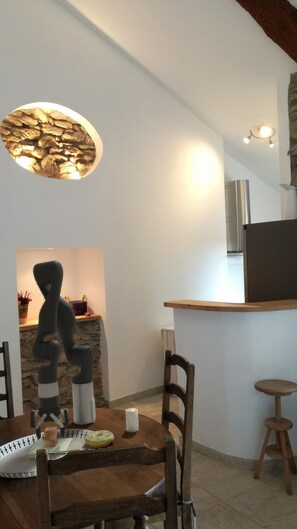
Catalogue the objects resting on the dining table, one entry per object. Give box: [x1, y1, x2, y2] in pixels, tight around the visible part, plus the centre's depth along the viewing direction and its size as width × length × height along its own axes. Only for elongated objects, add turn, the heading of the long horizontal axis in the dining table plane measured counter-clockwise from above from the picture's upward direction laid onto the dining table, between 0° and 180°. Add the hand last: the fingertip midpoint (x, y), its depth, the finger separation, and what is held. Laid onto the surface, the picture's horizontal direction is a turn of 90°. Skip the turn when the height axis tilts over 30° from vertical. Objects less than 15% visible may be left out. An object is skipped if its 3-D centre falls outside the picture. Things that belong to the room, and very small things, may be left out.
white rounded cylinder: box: [125, 407, 140, 433], centre depth 169 cm, size 5×5×8 cm
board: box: [27, 437, 74, 456], centre depth 155 cm, size 14×12×1 cm
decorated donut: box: [84, 430, 115, 449], centre depth 157 cm, size 10×11×4 cm
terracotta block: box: [43, 426, 59, 448], centre depth 155 cm, size 4×4×6 cm
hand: (50, 437), depth 155 cm, fingers open, 8 cm apart
